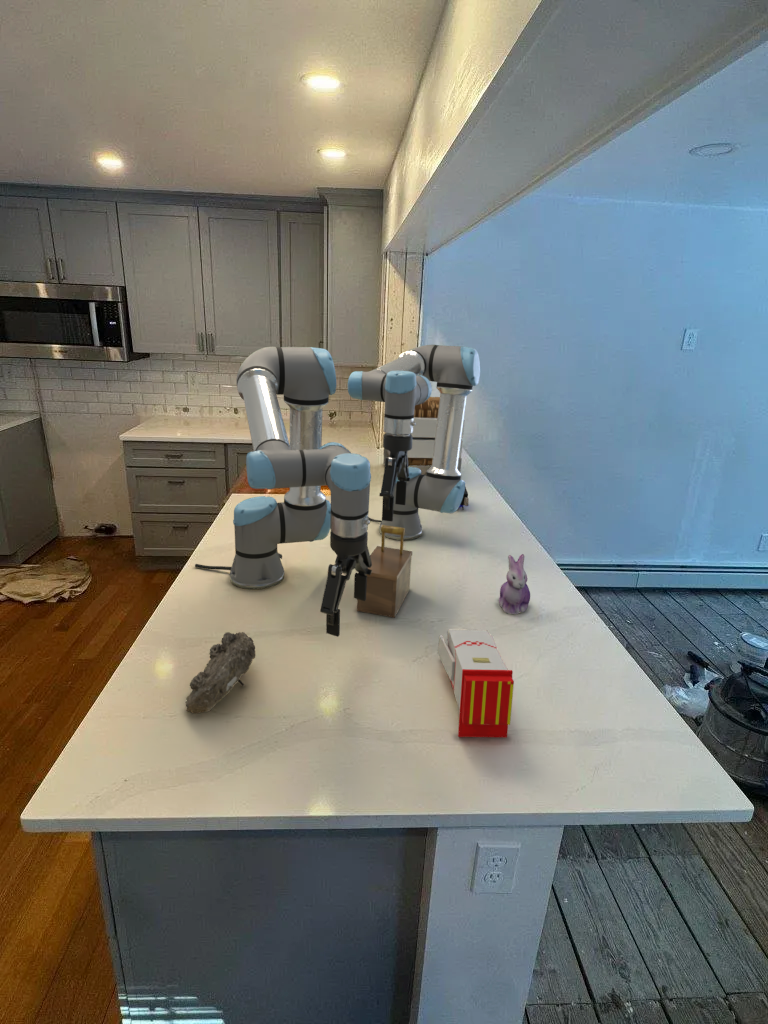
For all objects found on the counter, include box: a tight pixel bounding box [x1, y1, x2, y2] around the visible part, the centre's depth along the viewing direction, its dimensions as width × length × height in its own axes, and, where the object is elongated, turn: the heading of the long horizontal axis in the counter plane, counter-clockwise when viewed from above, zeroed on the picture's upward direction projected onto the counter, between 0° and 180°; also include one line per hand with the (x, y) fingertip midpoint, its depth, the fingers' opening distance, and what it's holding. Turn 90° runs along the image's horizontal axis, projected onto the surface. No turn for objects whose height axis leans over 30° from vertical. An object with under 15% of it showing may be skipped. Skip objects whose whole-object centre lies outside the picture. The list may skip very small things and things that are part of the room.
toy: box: [437, 628, 515, 738], centre depth 117 cm, size 12×13×30 cm
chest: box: [356, 557, 412, 618], centre depth 152 cm, size 16×10×10 cm, turn 164°
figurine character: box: [459, 486, 470, 511], centre depth 230 cm, size 7×8×15 cm
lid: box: [357, 525, 413, 581], centre depth 150 cm, size 17×10×9 cm, turn 164°
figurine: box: [498, 553, 531, 615], centre depth 151 cm, size 9×10×15 cm
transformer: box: [383, 396, 465, 474], centre depth 268 cm, size 34×33×41 cm
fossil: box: [185, 631, 256, 715], centre depth 116 cm, size 22×10×15 cm
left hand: (347, 615), depth 123 cm, fingers open, 13 cm apart
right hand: (394, 512), depth 152 cm, fingers open, 13 cm apart
